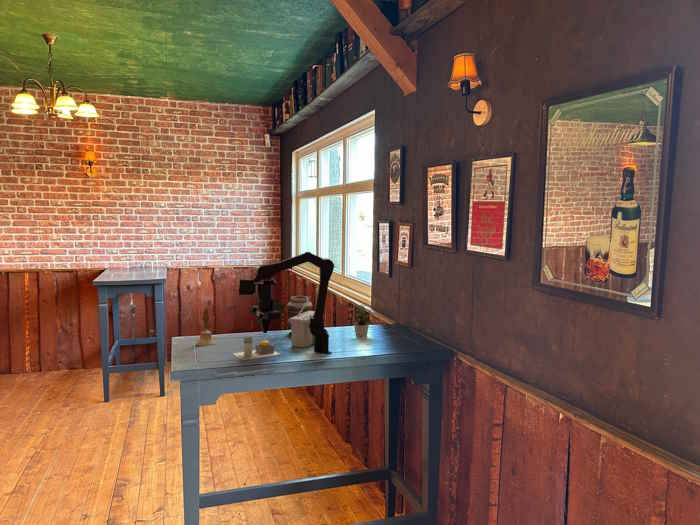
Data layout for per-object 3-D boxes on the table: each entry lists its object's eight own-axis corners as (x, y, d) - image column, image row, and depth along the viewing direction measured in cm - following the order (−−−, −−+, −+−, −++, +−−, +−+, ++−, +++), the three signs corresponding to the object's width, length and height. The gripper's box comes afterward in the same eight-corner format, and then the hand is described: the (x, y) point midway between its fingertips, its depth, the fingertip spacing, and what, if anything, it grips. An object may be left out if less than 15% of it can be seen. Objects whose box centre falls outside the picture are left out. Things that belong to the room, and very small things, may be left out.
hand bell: (208, 340, 235) (207, 306, 234) (219, 343, 230) (219, 308, 229) (192, 344, 229) (191, 308, 228) (203, 347, 224) (203, 310, 222)
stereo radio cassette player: (305, 350, 221) (306, 303, 219) (288, 348, 224) (288, 302, 222) (324, 339, 241) (325, 296, 239) (308, 338, 244) (308, 295, 242)
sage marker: (253, 356, 207) (253, 337, 206) (245, 357, 205) (245, 338, 204) (250, 354, 210) (250, 336, 209) (242, 355, 208) (242, 337, 207)
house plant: (339, 334, 251) (340, 301, 250) (365, 332, 257) (365, 299, 256) (352, 341, 238) (352, 305, 237) (378, 338, 244) (379, 304, 243)
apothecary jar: (283, 335, 248) (283, 298, 246) (292, 330, 259) (292, 294, 258) (307, 337, 245) (307, 299, 243) (315, 331, 256) (315, 295, 255)
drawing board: (280, 356, 212) (280, 353, 211) (243, 361, 202) (243, 359, 202) (268, 350, 220) (268, 347, 220) (232, 355, 211) (232, 353, 211)
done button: (270, 346, 213) (270, 342, 213) (262, 348, 211) (262, 343, 211) (266, 344, 216) (266, 340, 216) (258, 346, 214) (258, 341, 214)
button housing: (274, 352, 213) (274, 345, 213) (261, 354, 210) (261, 347, 210) (268, 349, 218) (268, 342, 218) (255, 351, 215) (255, 344, 214)
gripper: (293, 297, 209) (293, 335, 210) (272, 291, 224) (272, 326, 226) (268, 299, 203) (268, 338, 204) (248, 293, 218) (248, 329, 219)
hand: (265, 333), depth 213 cm, fingers closed
